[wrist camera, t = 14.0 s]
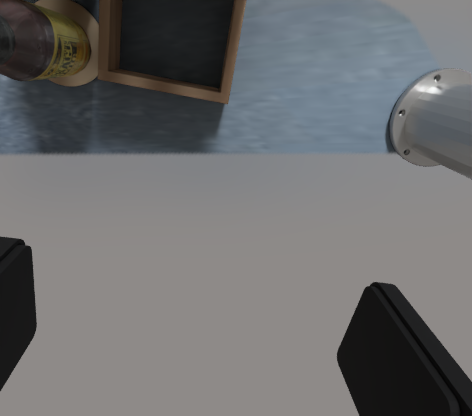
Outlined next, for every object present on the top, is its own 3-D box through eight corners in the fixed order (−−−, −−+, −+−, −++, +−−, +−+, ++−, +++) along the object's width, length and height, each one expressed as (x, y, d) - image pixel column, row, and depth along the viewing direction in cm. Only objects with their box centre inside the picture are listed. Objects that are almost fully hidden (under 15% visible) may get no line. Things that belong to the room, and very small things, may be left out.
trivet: (108, 8, 37) (106, 7, 37) (105, 92, 41) (103, 93, 40) (20, -11, 36) (17, -12, 35) (25, 77, 39) (23, 78, 39)
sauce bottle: (67, 86, 40) (-50, 115, 22) (24, 38, 37) (-149, 26, 19) (108, 50, 38) (20, 50, 20) (66, -2, 36) (-77, -55, 18)
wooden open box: (245, -14, 37) (252, -26, 31) (225, 98, 42) (228, 106, 36) (114, -45, 35) (93, -66, 29) (110, 76, 40) (91, 80, 34)
